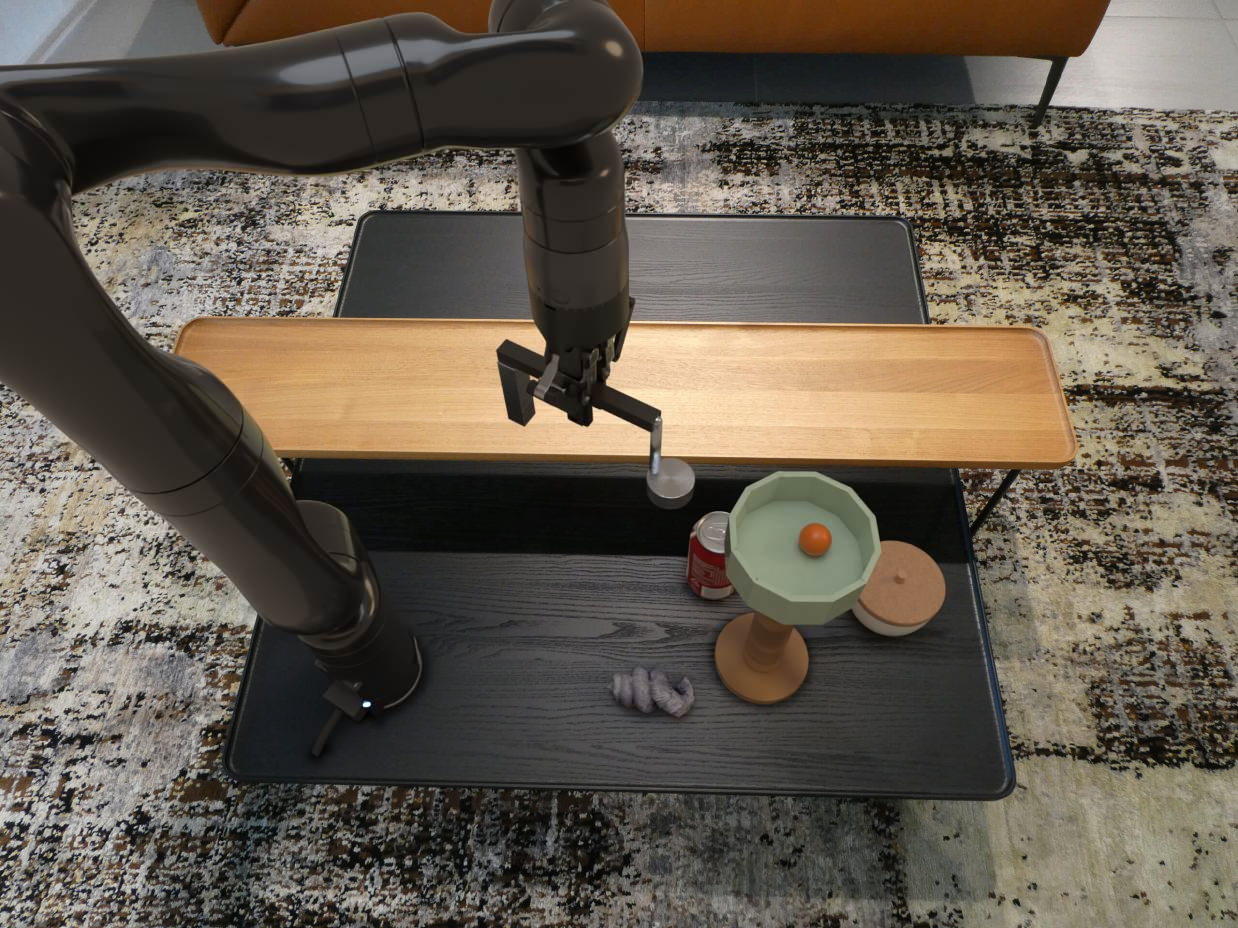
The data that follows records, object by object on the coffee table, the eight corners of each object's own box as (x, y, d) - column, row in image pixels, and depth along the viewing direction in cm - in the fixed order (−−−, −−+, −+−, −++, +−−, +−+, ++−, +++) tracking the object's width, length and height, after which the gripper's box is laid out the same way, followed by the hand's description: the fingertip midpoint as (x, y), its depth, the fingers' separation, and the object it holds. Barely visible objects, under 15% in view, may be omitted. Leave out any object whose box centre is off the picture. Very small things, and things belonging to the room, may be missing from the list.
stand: (783, 721, 96) (826, 633, 75) (698, 674, 100) (716, 576, 78) (821, 643, 102) (872, 539, 80) (739, 600, 105) (767, 489, 83)
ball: (818, 562, 79) (825, 560, 76) (790, 546, 79) (796, 543, 76) (833, 535, 79) (841, 532, 76) (805, 518, 80) (812, 515, 77)
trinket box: (936, 589, 105) (960, 554, 98) (913, 663, 100) (936, 633, 92) (853, 556, 108) (870, 519, 100) (826, 626, 103) (842, 594, 95)
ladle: (702, 482, 79) (710, 417, 70) (679, 517, 76) (685, 455, 68) (526, 397, 84) (515, 328, 76) (500, 427, 82) (486, 360, 74)
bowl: (832, 650, 74) (844, 628, 70) (700, 581, 78) (703, 556, 74) (887, 537, 80) (901, 510, 76) (762, 478, 84) (768, 449, 80)
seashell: (693, 699, 99) (609, 695, 100) (695, 660, 98) (609, 655, 98) (693, 727, 94) (604, 722, 95) (695, 685, 93) (605, 681, 93)
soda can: (735, 606, 104) (746, 562, 94) (681, 596, 105) (686, 552, 95) (742, 558, 108) (753, 511, 98) (690, 549, 109) (695, 502, 99)
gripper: (584, 198, 66) (592, 347, 80) (480, 308, 59) (509, 448, 74) (668, 231, 63) (661, 378, 78) (570, 349, 57) (581, 485, 71)
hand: (587, 412), depth 76 cm, fingers closed on ladle
